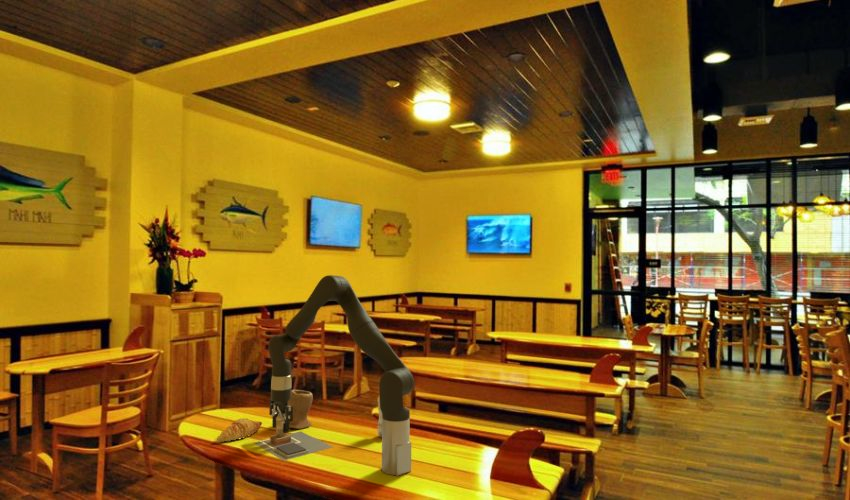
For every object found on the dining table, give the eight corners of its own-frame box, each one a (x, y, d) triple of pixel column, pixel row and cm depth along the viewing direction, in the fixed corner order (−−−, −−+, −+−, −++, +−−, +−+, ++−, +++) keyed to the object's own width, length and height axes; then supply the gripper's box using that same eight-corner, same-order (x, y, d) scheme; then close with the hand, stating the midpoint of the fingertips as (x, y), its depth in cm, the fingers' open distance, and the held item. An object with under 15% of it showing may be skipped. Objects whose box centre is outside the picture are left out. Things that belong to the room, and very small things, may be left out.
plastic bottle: (393, 439, 202) (393, 388, 202) (376, 439, 202) (376, 388, 202) (394, 434, 208) (395, 384, 209) (377, 434, 208) (378, 384, 209)
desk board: (333, 449, 191) (333, 443, 191) (283, 463, 177) (283, 456, 177) (300, 433, 208) (300, 428, 209) (253, 444, 195) (253, 439, 195)
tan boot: (318, 425, 219) (319, 389, 220) (298, 433, 209) (299, 395, 209) (291, 419, 227) (292, 385, 227) (271, 427, 216) (272, 391, 217)
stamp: (290, 442, 196) (291, 414, 196) (277, 445, 192) (277, 417, 192) (283, 438, 200) (284, 411, 200) (270, 441, 196) (270, 414, 196)
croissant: (222, 454, 194) (229, 437, 193) (206, 437, 199) (213, 421, 197) (265, 437, 213) (271, 421, 211) (249, 422, 217) (256, 406, 215)
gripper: (299, 388, 194) (298, 432, 193) (281, 382, 204) (280, 423, 204) (281, 392, 189) (280, 436, 188) (263, 385, 199) (262, 427, 199)
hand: (280, 429), depth 196 cm, fingers open, 8 cm apart
